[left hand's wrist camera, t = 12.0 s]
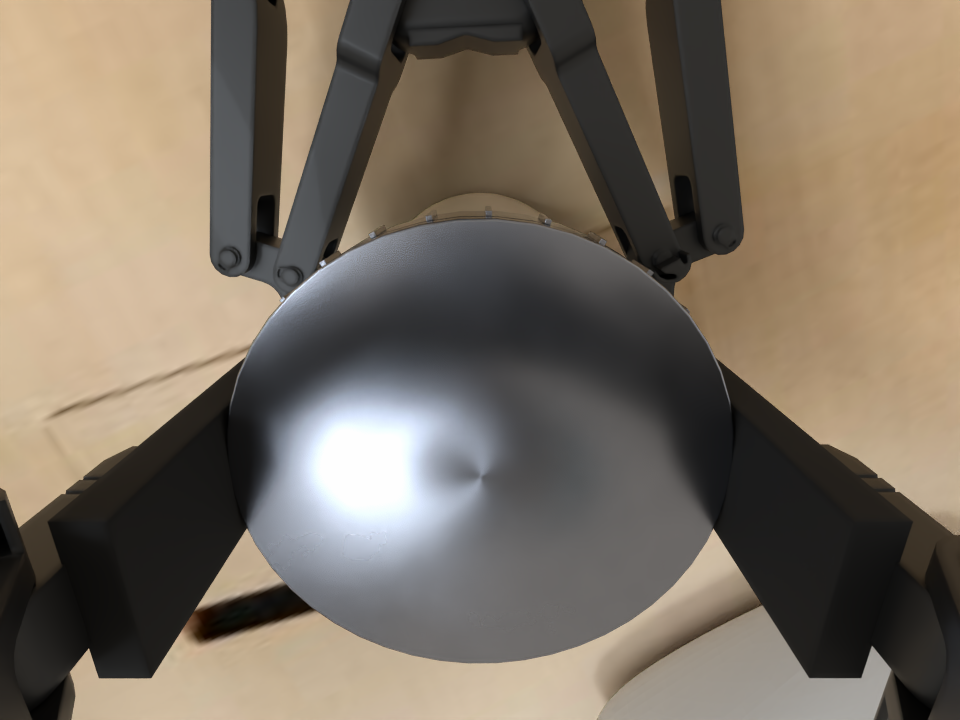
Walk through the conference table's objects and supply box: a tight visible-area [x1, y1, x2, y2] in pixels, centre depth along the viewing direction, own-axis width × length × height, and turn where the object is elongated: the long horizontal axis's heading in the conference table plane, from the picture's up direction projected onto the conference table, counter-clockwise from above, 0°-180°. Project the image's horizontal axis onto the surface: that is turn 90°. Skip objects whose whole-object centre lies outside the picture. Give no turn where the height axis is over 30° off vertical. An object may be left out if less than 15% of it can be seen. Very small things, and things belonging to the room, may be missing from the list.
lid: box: [227, 206, 734, 663], centre depth 11 cm, size 10×10×2 cm
